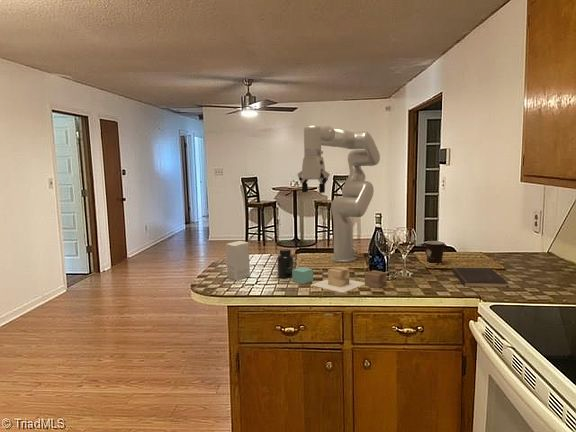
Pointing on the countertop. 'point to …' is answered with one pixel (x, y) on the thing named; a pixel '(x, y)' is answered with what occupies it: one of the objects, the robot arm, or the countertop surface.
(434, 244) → the coffee mug
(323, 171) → the robot arm
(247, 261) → the skincare box
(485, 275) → the hardcover book
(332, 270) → the oak cube
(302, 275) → the teal cube
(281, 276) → the supplement bottle
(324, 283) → the plate
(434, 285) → the countertop surface
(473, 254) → the countertop surface
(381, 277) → the walnut cube
